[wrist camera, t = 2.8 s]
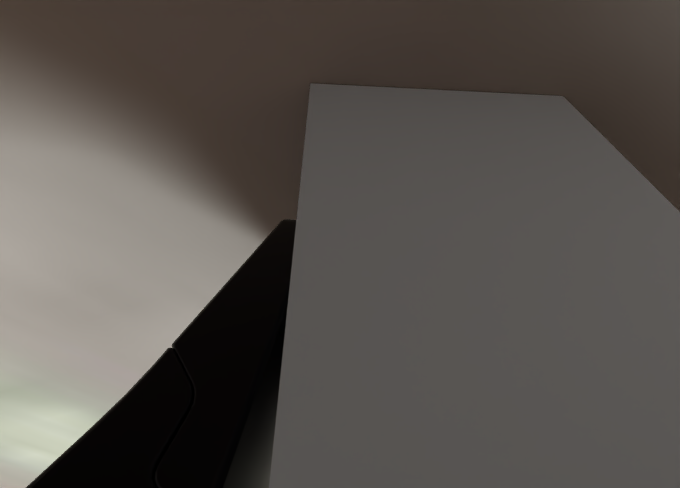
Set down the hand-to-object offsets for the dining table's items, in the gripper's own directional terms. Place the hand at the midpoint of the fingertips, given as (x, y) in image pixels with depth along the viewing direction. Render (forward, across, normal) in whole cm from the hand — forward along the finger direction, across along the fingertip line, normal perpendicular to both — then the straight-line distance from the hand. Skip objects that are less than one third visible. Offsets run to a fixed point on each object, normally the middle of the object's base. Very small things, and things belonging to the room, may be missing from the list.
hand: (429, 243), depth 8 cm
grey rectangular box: (+2, 0, 0) cm, 2 cm away
